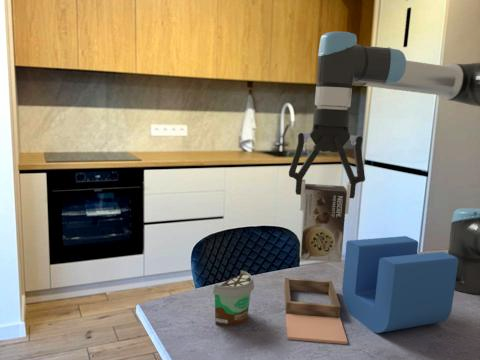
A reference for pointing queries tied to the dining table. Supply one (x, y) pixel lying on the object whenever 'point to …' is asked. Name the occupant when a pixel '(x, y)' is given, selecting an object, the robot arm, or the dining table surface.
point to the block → (397, 283)
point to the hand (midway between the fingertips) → (323, 210)
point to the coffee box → (323, 223)
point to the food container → (233, 300)
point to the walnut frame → (311, 308)
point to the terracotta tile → (315, 329)
